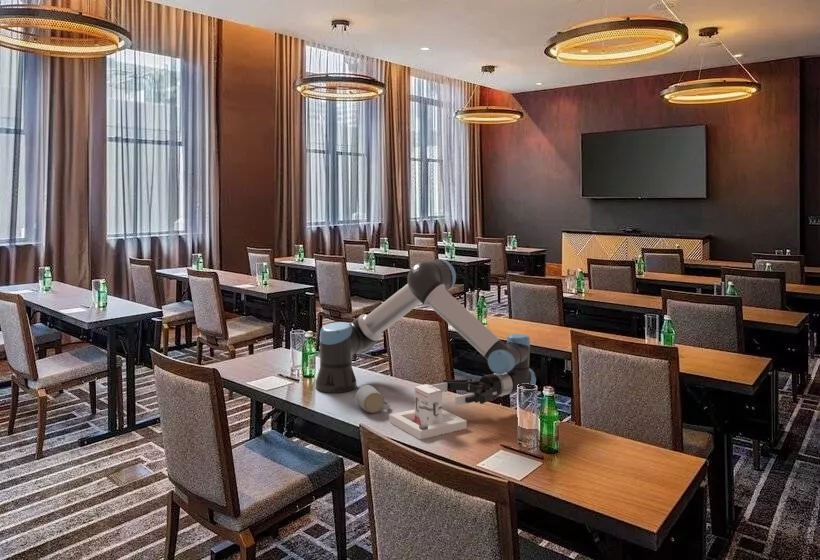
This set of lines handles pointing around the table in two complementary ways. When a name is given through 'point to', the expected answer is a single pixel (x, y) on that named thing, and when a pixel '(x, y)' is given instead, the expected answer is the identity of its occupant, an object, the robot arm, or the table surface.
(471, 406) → the table surface
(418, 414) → the ink box
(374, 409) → the ceramic mug
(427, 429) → the socket plate
